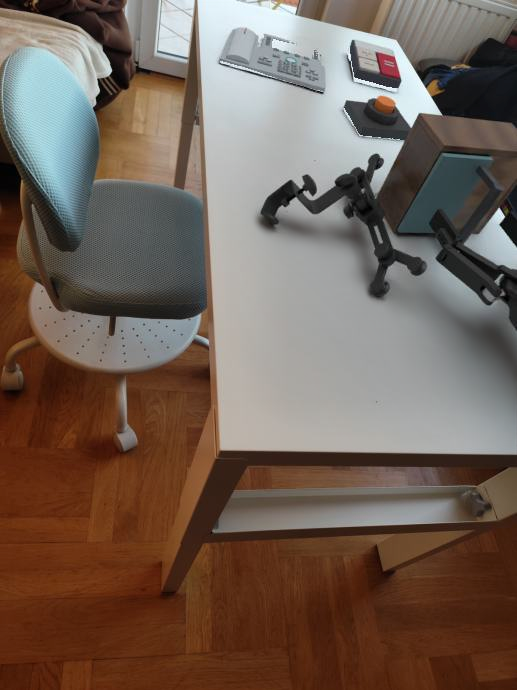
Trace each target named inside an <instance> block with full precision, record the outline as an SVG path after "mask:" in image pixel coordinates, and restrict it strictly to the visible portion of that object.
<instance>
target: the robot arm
mask: <svg viewBox="0 0 517 690" xmlns="http://www.w3.org/2000/svg"><path fill="white" fill-rule="evenodd" d="M429 225H430V226H431V228H432V230H433V231H434V233H433V234H435V239H436V240H437V242H438V243H439V245H440V246H441V250H440V251H439V253H438V254H437V255H436V256H435V261H436V262H437V263H438V264H440V266H442V267H443V268H445V269H446V270H447V272H449V273H451V274H452V275H453V276H454V277H456V278H457V279H458V280H459V281H460V282H462V283H463V284H464V285H465V286H466V287H467V288H469V289H470V290H471V291H472V292H474V293H475V294H476V295H477V297H478V298H479V299H480V301H481V302H482V303H483V304H484V305H485V306H488V307H490V306H492V305H493V304H494V302H496V301H501V302H503V303H504V304H505V305H506V306H507V307H508V321H509V322H510V324H511V326H512V327H513V328H514V330H515V331H516V332H517V269H516V268H510V267H508V266H507V265H506V264H499V265H498V264H497V263H495V262H493V261H492V260H490V259H488V258H487V257H485V256H483V255H481V254H480V253H478V252H477V251H475V250H474V249H471V248H469V247H468V246H466V245H465V244H464V245H463V244H461V242H462V240H463V239H462V237H461V236H460V234H459V233H458V231H457V230H456V228H455V227H454V226H453V224H452V223H451V221H450V220H449V218H448V217H447V215H446V214H445V213H444V211H443V210H442V209H437V211H436V212H435V214H434V215H433V217H432V219H431V220H430V222H429ZM498 225H499V227H500V228H501V230H502V231H503V232H504V233H505V234H506V236H507V237H508V238H509V240H510V241H511V242H512V244H513V245H514V246H515V247H516V248H517V213H516V212H515V211H514V210H509V211H508V212H507V214H506V215H505V216H504V218H503V219H501V222H500V223H499V224H498ZM501 275H502V276H501ZM500 276H501V277H500ZM499 277H500V278H499ZM498 278H499V280H498V282H496V280H497V279H498Z"/></svg>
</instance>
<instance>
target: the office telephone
mask: <svg viewBox="0 0 517 690" xmlns="http://www.w3.org/2000/svg"><path fill="white" fill-rule="evenodd" d="M263 35H264V38H263V37H262V43H261V46H258V43H259V35H258V34H256V32H254V30H252V29H250V28H247V27H236V28H233V29H232V30H231V31H230V33H229V37H228V38H227V40H226V42H225V44H224V47H223V49H222V52H221V54H220V57H219V60H220V61H223V62H227V63H230V64H234V65H237V66H242V67H245V68H248V69H251V70H254V71H257V72H260V73H263V74H265V75H268V76H272V77H275V78H277V79H281V80H285V81H287V82H292V83H294V84H298V85H301V86H305V87H308V88H312V89H315V90H320V91H323V92H324V93H325V90H326V85H327V84H326V67H325V66H324V65H323V64H322V59H321V60H319V59H318V54H316V53H318V52H315V51H317V50H314V57H313V55H312V59H310V58H308V57H305V56H304V57H303V56H300V55H298V54H292V53H289V52H287V51H281V50H279V49H277V48H272V41H273V39H276V40H279V41H283V42H287V43H290V42H289V41H290V40H289V39H286V38H283V37H279V36H276V35H272V34H268V33H263V34H262V36H263ZM285 39H286V40H285ZM293 42H294V41H293ZM293 42H291V43H292V44H295V43H293ZM296 45H297V44H296ZM316 55H317V56H316ZM219 60H218V61H219Z"/></svg>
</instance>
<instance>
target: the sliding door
mask: <svg viewBox="0 0 517 690" xmlns="http://www.w3.org/2000/svg"><path fill="white" fill-rule="evenodd" d="M493 161H494V160H493V158H492V157H486V156H473V155H461V154H449V153H441V155H440V157H439V158H438V160H437V162H436V163H435V165H434V167H433V169H432V170H431V172H430V174H429V175H428V177H427V179H426V181H425V182H424V184H423V186H422V187H421V189H420V191H419V193H418V194H417V196H416V198H415V199H414V201H413V203H412V205H411V206H410V208H409V210H408V212H407V213H406V215H405V217H404V218H403V220H402V222H401V224H400V225H399V227H398V229H397V230H398V232H404V233H405V234H407V233H409V234H435V233H434V231H433V230H432V228H431V226H430V225H429V222H430V220H431V219H432V217H433V215H434V214H435V212H436V211H437V209H442V210H443V211H444V213H445V214H446V215H447V217H448V218H449V220H450V221H451V222H452V221H453V219H454V218H455V216H456V215H457V213H458V212H459V210H460V209H461V207H462V206H463V204H464V203H465V202H466V200H467V199H468V197H469V196H470V194H471V193H472V191H473V190H474V188H475V187H476V185H477V184H478V183H479V181H480V180H481V178H482V180H483V181H484V182H485V183H486V185H487V186H488V187H489V189H490V191H489V192H488V193H487V195H486V196H485V198H484V199H483V200H482V202H481V203H480V205H479V206H478V207H477V209H476V210H475V212H474V213H473V214H472V216H471V217H470V219H469V220H468V221H467V223H466V224H465V226H464V227H463V228H462V230H461V231H460V233H459V234H460V236H461V237H462V239H463V240H462V242H461V244H463V245H465V244H466V242H468V241H467V240H469V238H470V237H471V235H472V233H473V231H474V230H475V228H476V227H477V226H478V224H479V223H480V222H481V220H482V219H483V218H484V216H485V215H486V214H487V212H488V211H489V210H490V208H491V207H492V206H493V204H494V203H495V202H496V200H497V199H498V198H499V196H500V195H501V193H502V192H503V191H504V187H503V186H502V185H500V184H499V183H498V182H497V180H496V179H495V178H494V177H493V175H492V174H491V173H490V172H489V171H488V168H489V166H490V165H491V164H492V162H493Z"/></svg>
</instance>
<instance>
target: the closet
mask: <svg viewBox="0 0 517 690" xmlns="http://www.w3.org/2000/svg"><path fill="white" fill-rule="evenodd" d="M441 153H449V154H461V155H473V156H486V157H492V158H493V160H494V161H493V162H492V164H491V165H490V166H489V168H488V171H489V172H490V173H491V174H492V175H493V177H494V178H495V179H496V180H497V182H498V183H499V184H500V185H502V186H503V187H504V191H503V192H502V193H501V195H500V196H499V198H498V199H497V200H496V202H495V203H494V204H493V206H492V207H491V208H490V210H489V211H488V212H487V214H486V215H485V216H484V218H483V219H482V220H481V222H480V223H479V224H478V226H477V227H476V228H475V230H474V231H473V233H472V234H474V235H479V234H481V232H482V231H483V230H484V228H486V226H487V224H488V223H489V222H490V221H491V220H492V218H493V217H494V215H495V214H497V211H498V210H499V209H500V208H501V206H502V205H503V203H504V202H505V201H506V199H507V198H508V197H509V195H510V194H511V193H512V192H513V190H514V189H515V187H516V186H517V127H516V126H515V125H514V124H513V123H512V122H506V121H496V120H487V119H479V118H478V119H477V118H469V117H462V116H461V117H460V116H452V115H442V114H433V113H426V112H418V114H417V116H416V118H415V120H414V122H413V124H412V126H411V130H410V132H409V134H408V136H407V138H406V140H405V141H403V144H402V145H401V148H400V150H399V151H398V154H397V156H396V157H395V160H394V161H393V164H392V166H391V167H390V170H389V171H388V173H387V176H386V177H385V179H384V182H383V183H382V185H381V187H380V188H379V191H378V194H377V195H376V197H375V199H376V200H377V201H378V202H379V203H380V205H381V207H382V208H383V210H384V211H385V216H384V219H385V220H386V222H387V223H388V226H389V227H390V229H391V230H392V232H393V233H395V234H397V233H399V234H403V233H404V232H398V230H397V229H398V227H399V225H400V224H401V222H402V220H403V218H404V217H405V215H406V213H407V212H408V210H409V208H410V206H411V205H412V203H413V201H414V199H415V198H416V196H417V194H418V193H419V191H420V189H421V187H422V186H423V184H424V182H425V181H426V179H427V177H428V175H429V174H430V172H431V170H432V169H433V167H434V165H435V163H436V162H437V160H438V158H439V157H440V155H441ZM489 191H490V189H489V187H488V186H487V185H486V183H485V182H484V181H483V180H482V178H481V180H480V181H479V183H478V184H477V185H476V187H475V188H474V190H473V191H472V193H471V194H470V196H469V197H468V199H467V200H466V202H465V203H464V204H463V206H462V207H461V209H460V210H459V212H458V213H457V215H456V216H455V218H454V219H453V221H452V222H451V223H452V224H453V226H454V227H455V228H456V230H457V231H458V233H460V231H461V230H462V228H463V227H464V226H465V224H466V223H467V221H468V220H469V219H470V217H471V216H472V214H473V213H474V212H475V210H476V209H477V207H478V206H479V205H480V203H481V202H482V200H483V199H484V198H485V196H486V195H487V193H488V192H489ZM472 234H471V235H472Z"/></svg>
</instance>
